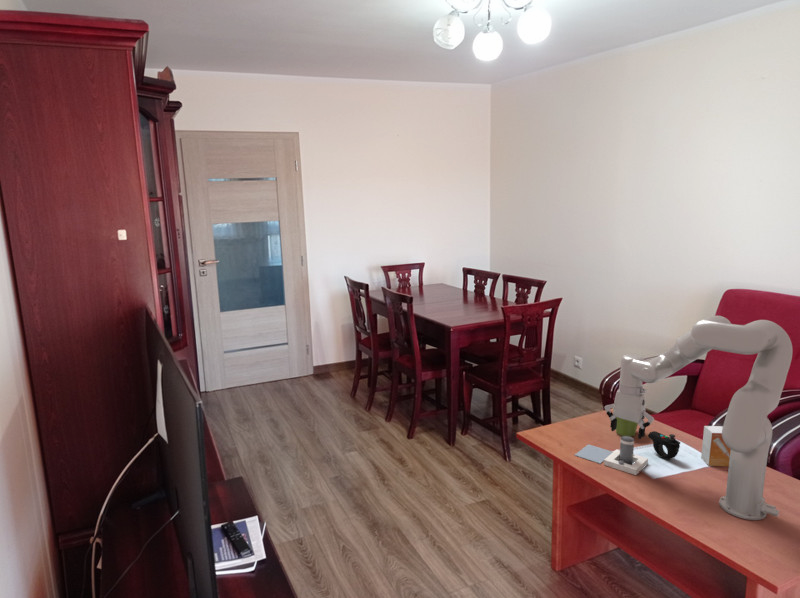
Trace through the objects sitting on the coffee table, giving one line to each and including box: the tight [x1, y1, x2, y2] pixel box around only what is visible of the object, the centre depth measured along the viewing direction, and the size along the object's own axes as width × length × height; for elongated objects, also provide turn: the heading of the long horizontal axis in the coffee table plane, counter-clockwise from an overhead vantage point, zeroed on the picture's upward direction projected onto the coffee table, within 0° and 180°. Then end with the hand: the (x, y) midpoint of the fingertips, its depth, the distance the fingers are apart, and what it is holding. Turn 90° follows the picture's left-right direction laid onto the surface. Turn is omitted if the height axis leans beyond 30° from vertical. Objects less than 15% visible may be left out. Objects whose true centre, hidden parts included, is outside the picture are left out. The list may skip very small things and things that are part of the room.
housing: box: [603, 448, 649, 476], centre depth 197 cm, size 12×12×3 cm
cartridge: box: [618, 436, 635, 465], centre depth 197 cm, size 5×5×10 cm
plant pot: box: [615, 417, 639, 437], centre depth 222 cm, size 12×12×11 cm
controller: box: [647, 430, 681, 460], centre depth 202 cm, size 4×12×10 cm, turn 23°
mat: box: [574, 443, 614, 465], centre depth 206 cm, size 10×12×1 cm
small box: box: [700, 425, 731, 468], centre depth 197 cm, size 8×6×13 cm
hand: (627, 433), depth 196 cm, fingers open, 9 cm apart
